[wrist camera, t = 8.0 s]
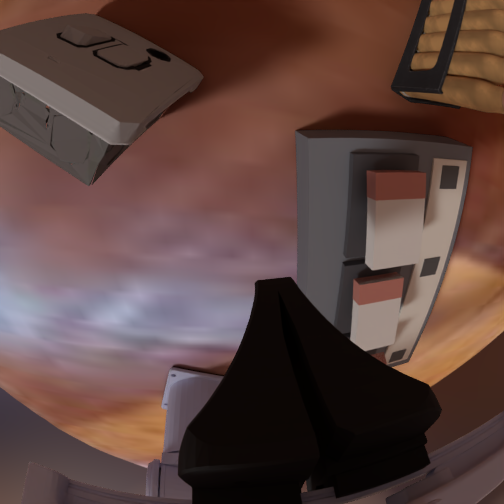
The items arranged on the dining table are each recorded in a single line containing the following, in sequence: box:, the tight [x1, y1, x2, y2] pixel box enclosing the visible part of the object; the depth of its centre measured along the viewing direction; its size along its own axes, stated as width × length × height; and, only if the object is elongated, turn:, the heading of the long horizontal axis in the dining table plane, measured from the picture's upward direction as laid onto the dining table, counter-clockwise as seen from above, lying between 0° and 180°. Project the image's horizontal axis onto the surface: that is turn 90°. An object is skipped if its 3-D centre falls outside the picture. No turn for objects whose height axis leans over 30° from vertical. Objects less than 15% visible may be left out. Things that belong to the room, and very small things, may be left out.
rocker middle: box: [350, 272, 404, 351], centre depth 18 cm, size 5×3×2 cm, turn 6°
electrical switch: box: [0, 13, 204, 186], centre depth 10 cm, size 9×5×9 cm, turn 51°
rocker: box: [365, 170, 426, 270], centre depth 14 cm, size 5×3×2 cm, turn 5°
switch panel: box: [295, 130, 473, 367], centre depth 21 cm, size 22×12×4 cm, turn 4°
